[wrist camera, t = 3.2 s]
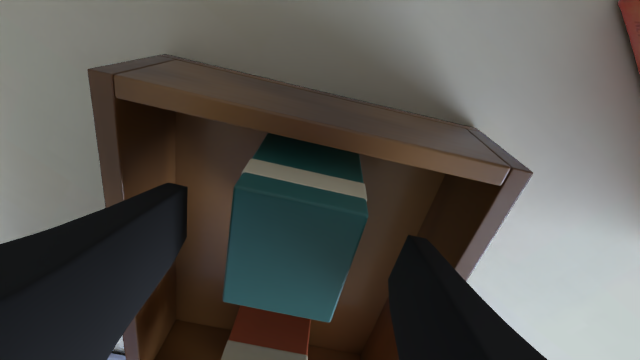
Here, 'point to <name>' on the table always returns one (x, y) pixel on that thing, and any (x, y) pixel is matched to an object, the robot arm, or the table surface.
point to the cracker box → (632, 24)
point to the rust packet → (267, 336)
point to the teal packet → (294, 228)
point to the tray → (232, 157)
